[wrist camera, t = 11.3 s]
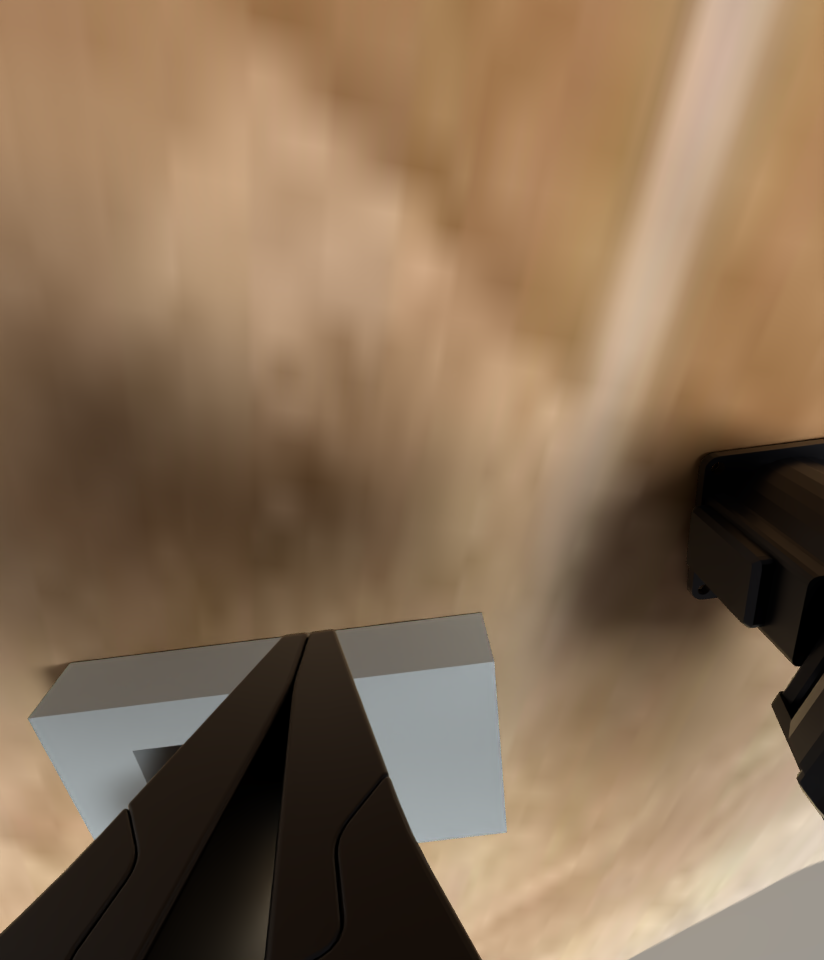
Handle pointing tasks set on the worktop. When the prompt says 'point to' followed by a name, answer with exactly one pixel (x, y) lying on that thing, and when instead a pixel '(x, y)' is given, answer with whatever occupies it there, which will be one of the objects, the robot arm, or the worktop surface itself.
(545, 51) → the worktop surface
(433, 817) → the board
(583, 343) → the worktop surface
